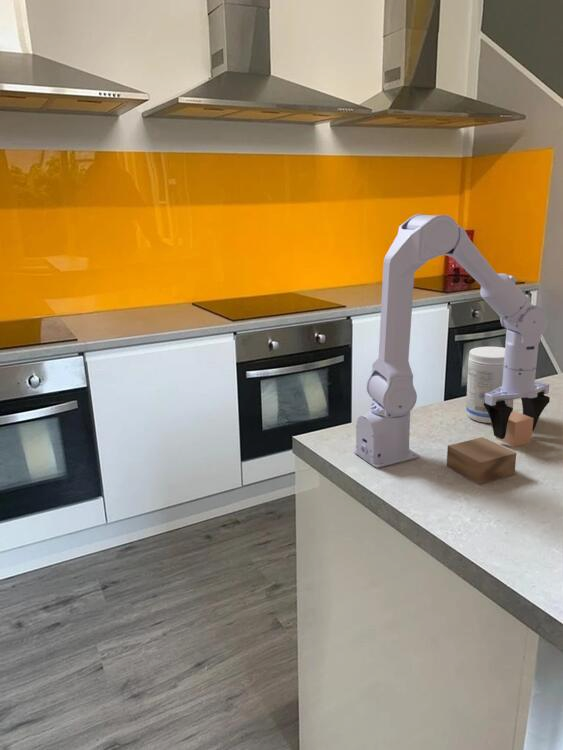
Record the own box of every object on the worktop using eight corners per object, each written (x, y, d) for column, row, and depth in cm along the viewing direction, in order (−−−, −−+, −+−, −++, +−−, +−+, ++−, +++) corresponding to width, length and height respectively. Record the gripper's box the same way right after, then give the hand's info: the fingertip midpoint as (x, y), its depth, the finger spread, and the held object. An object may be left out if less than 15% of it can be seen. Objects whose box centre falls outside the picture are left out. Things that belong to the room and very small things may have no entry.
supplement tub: (501, 408, 132) (506, 345, 127) (519, 423, 122) (525, 355, 118) (458, 410, 131) (462, 347, 127) (474, 426, 122) (478, 358, 118)
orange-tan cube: (513, 447, 111) (515, 422, 110) (495, 438, 115) (497, 415, 114) (531, 442, 113) (533, 418, 112) (513, 434, 117) (515, 411, 116)
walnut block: (478, 484, 97) (480, 462, 96) (446, 466, 104) (447, 445, 103) (514, 474, 100) (516, 452, 99) (481, 457, 107) (482, 437, 106)
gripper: (506, 377, 104) (501, 448, 108) (565, 365, 109) (557, 433, 113) (478, 368, 110) (474, 435, 114) (535, 357, 116) (529, 421, 119)
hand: (513, 433), depth 114 cm, fingers open, 7 cm apart
